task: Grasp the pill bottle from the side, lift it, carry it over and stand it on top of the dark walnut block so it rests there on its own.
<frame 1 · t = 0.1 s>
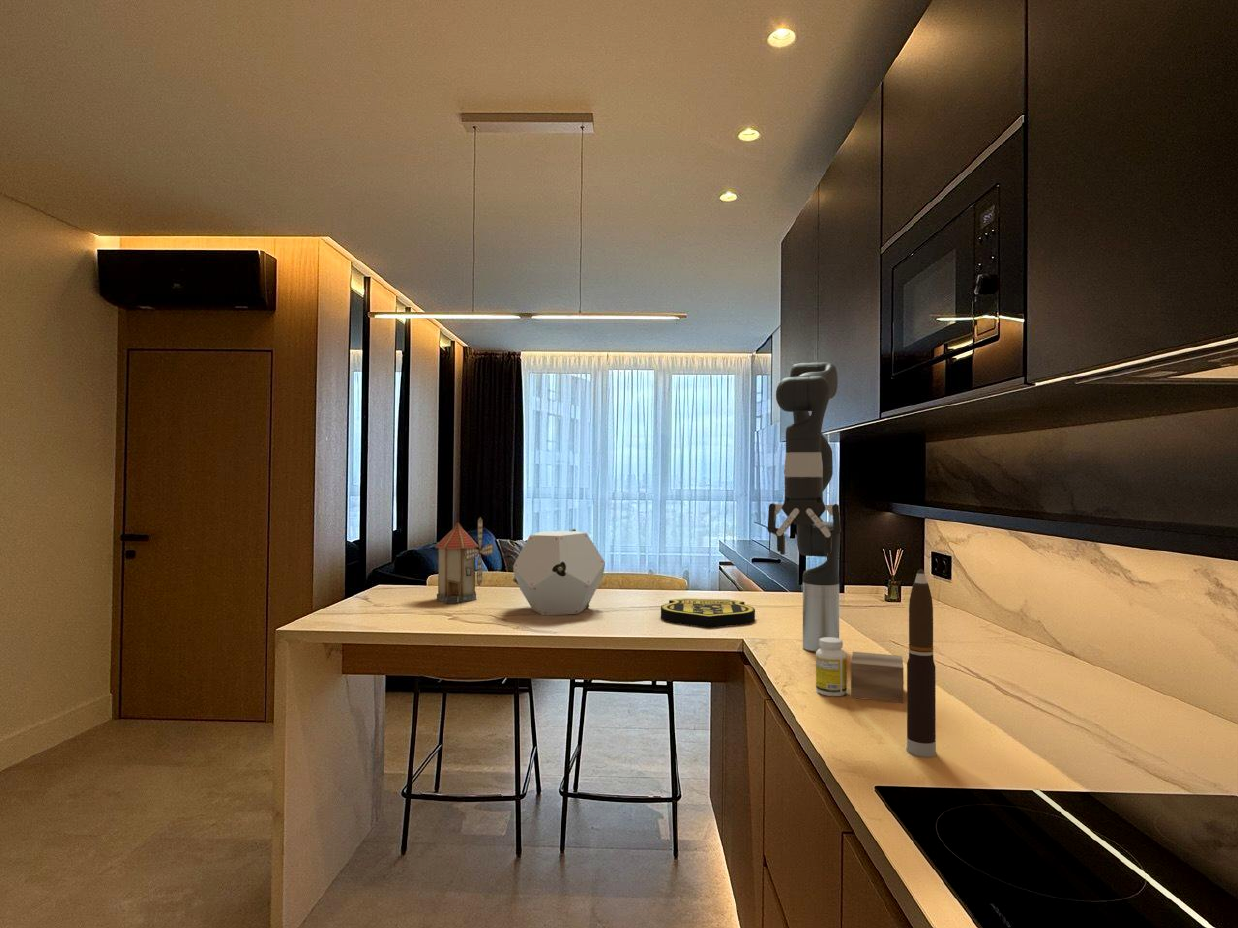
hand: (803, 554, 144), 29 cm above the worktop, tool pointing down, fingers open, 8 cm apart
ammunition: (921, 752, 117), on the worktop
miniature windmill: (461, 600, 256), on the worktop
pill bottle: (831, 693, 149), on the worktop
geometric sculpture: (559, 611, 237), on the worktop
walnut block: (877, 692, 149), on the worktop
emblem: (707, 619, 226), on the worktop
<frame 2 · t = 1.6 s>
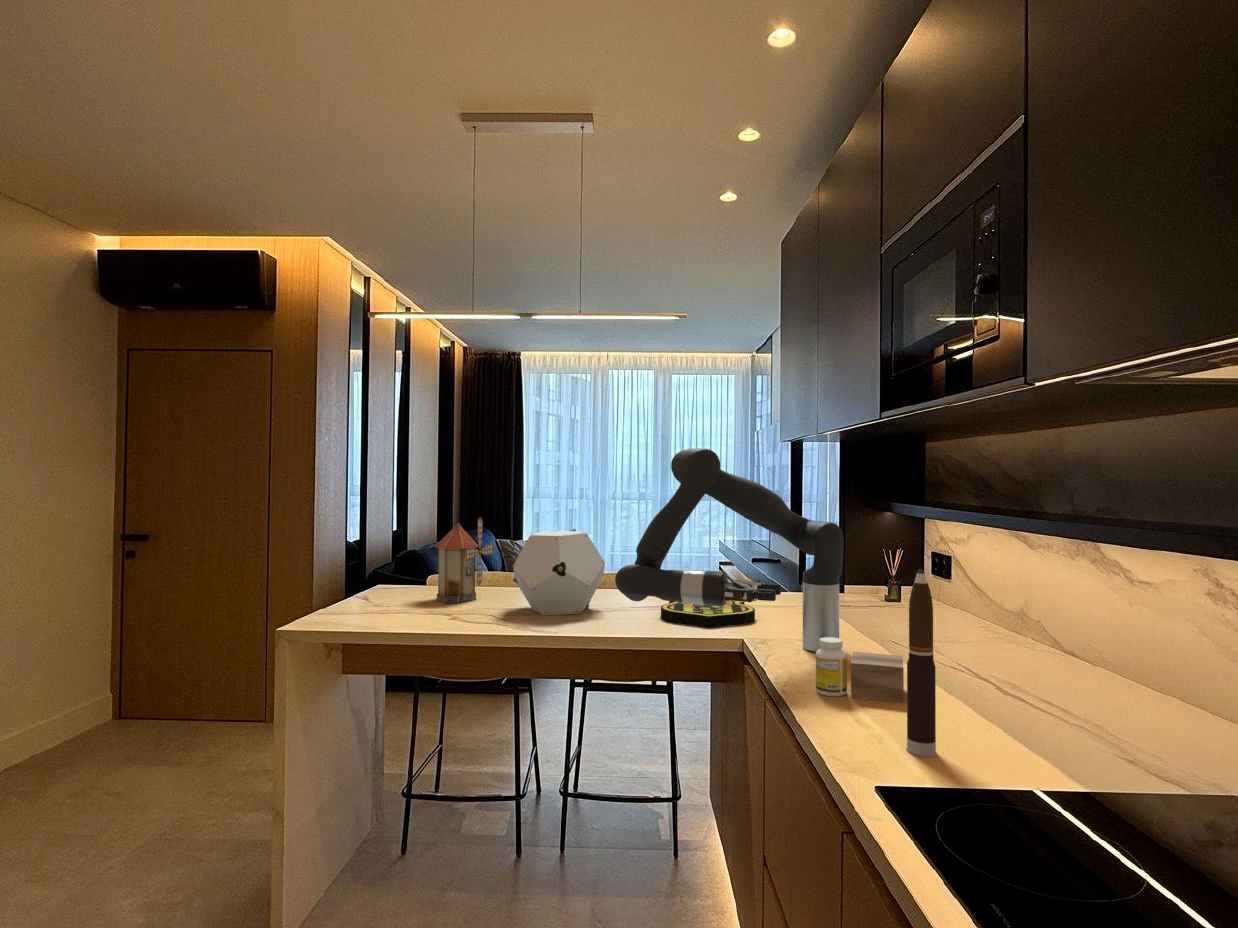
hand: (778, 592, 153), 20 cm above the worktop, tool horizontal, fingers open, 8 cm apart
nothing on the worktop moved.
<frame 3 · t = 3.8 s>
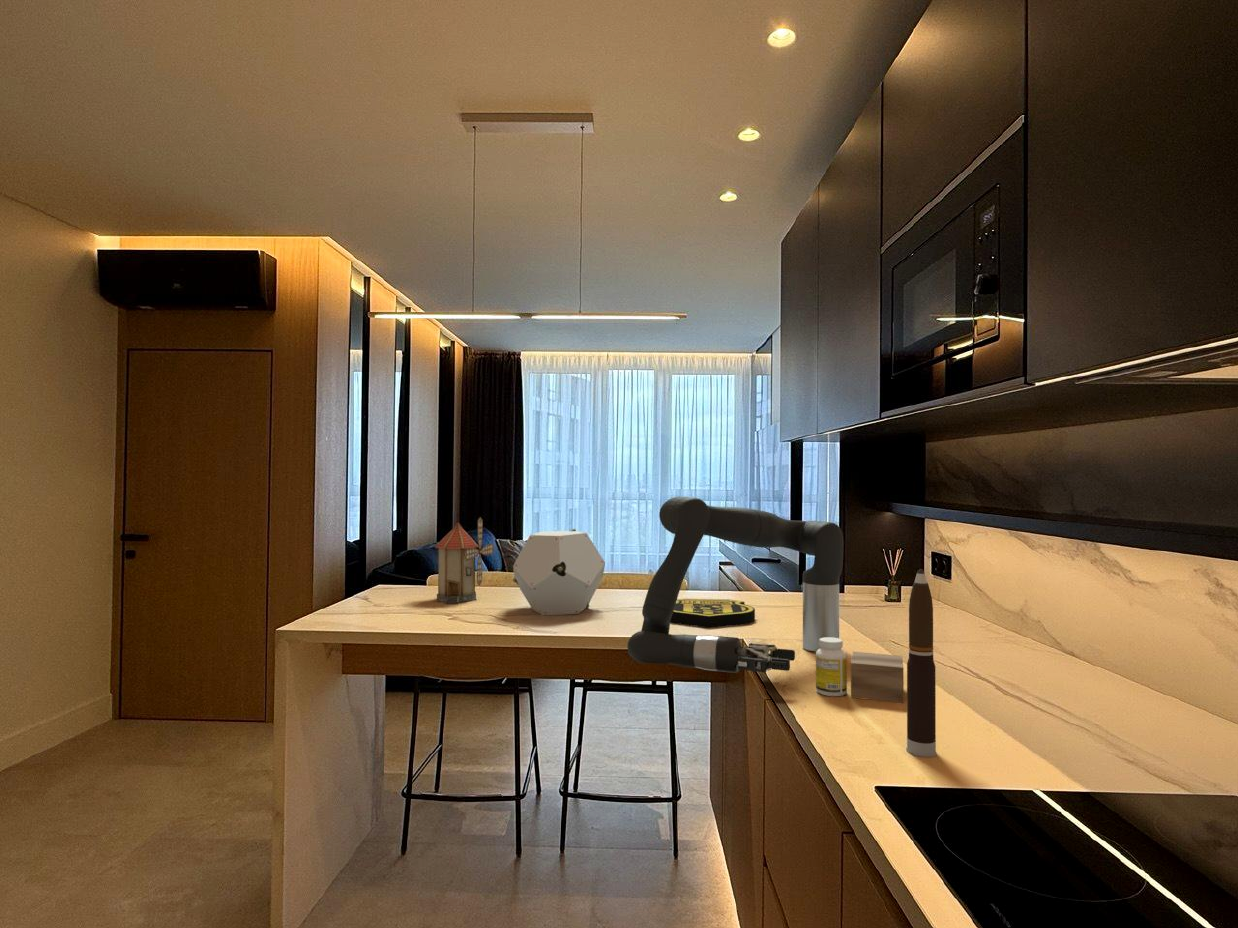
hand: (792, 660, 152), 6 cm above the worktop, tool horizontal, fingers open, 8 cm apart
nothing on the worktop moved.
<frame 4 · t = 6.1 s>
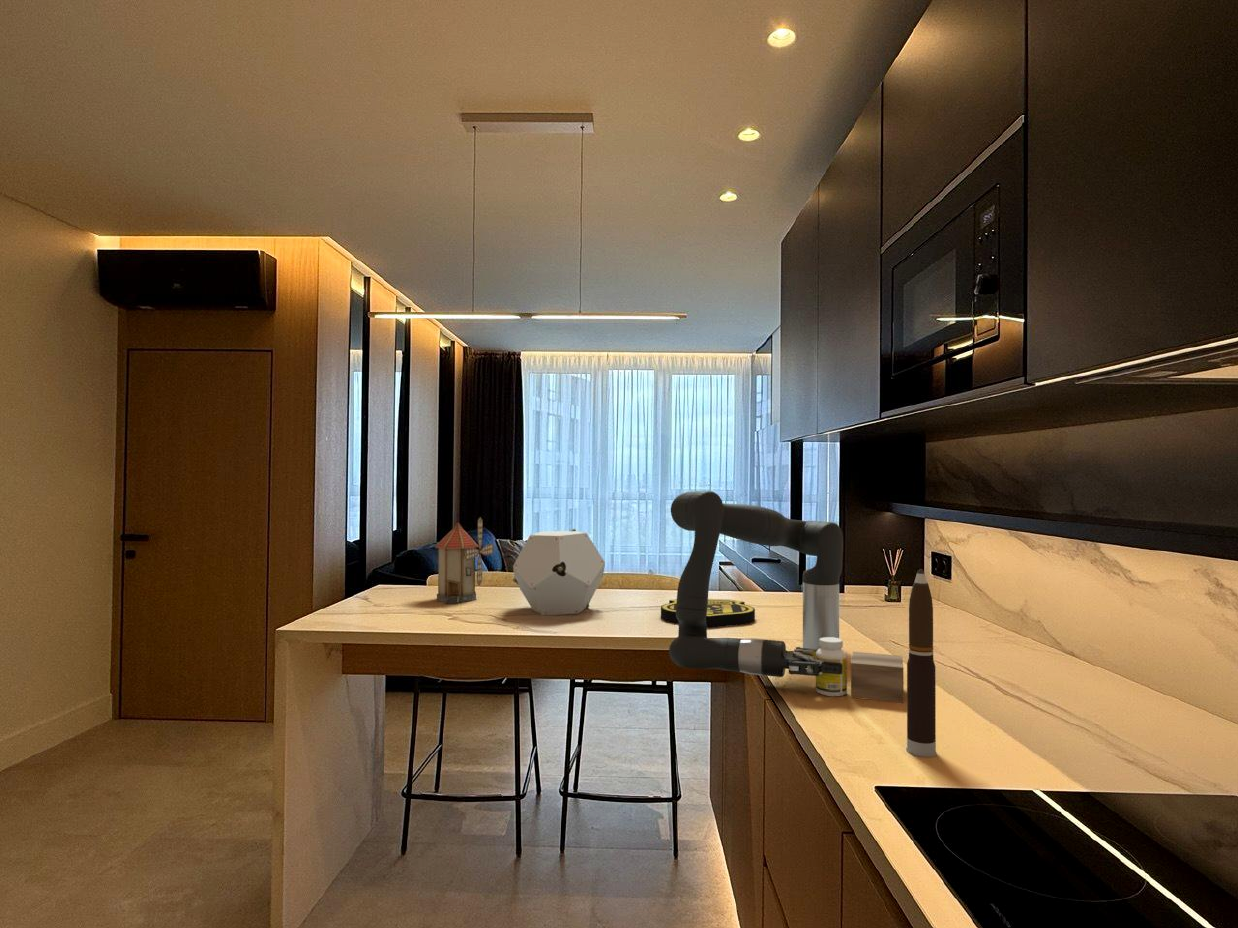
hand: (843, 664, 148), 6 cm above the worktop, tool horizontal, fingers closed on pill bottle, 6 cm apart
pill bottle: (831, 693, 149), on the worktop, touching gripper
everything else where it was.
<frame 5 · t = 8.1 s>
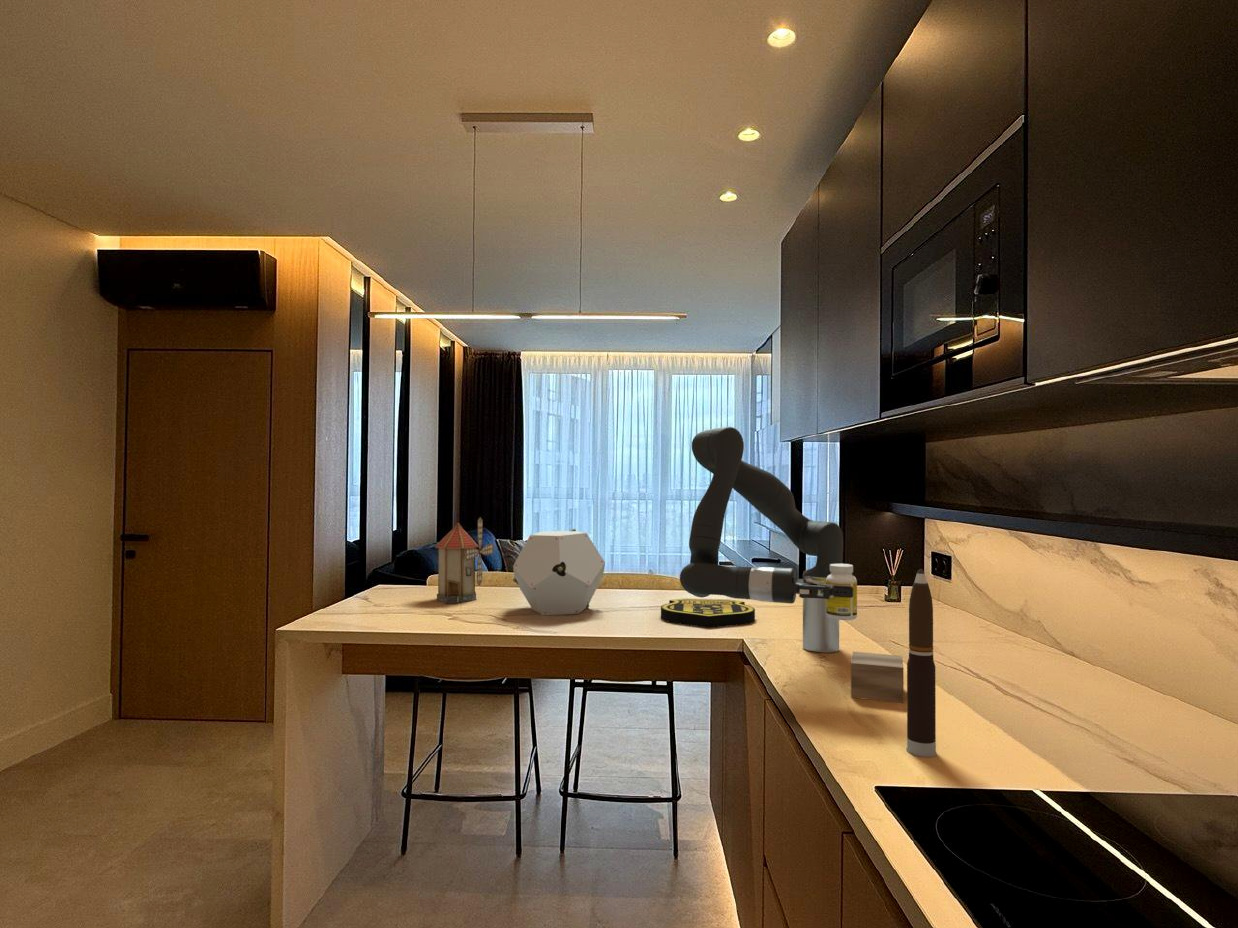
hand: (853, 589, 148), 22 cm above the worktop, tool horizontal, fingers closed on pill bottle, 6 cm apart
pill bottle: (841, 618, 149), point 15 cm above the worktop, touching gripper
everything else where it was.
when the fingers open (14 cm above the worktop, at t = 10.5 s): pill bottle drops 1 cm, resting on walnut block.
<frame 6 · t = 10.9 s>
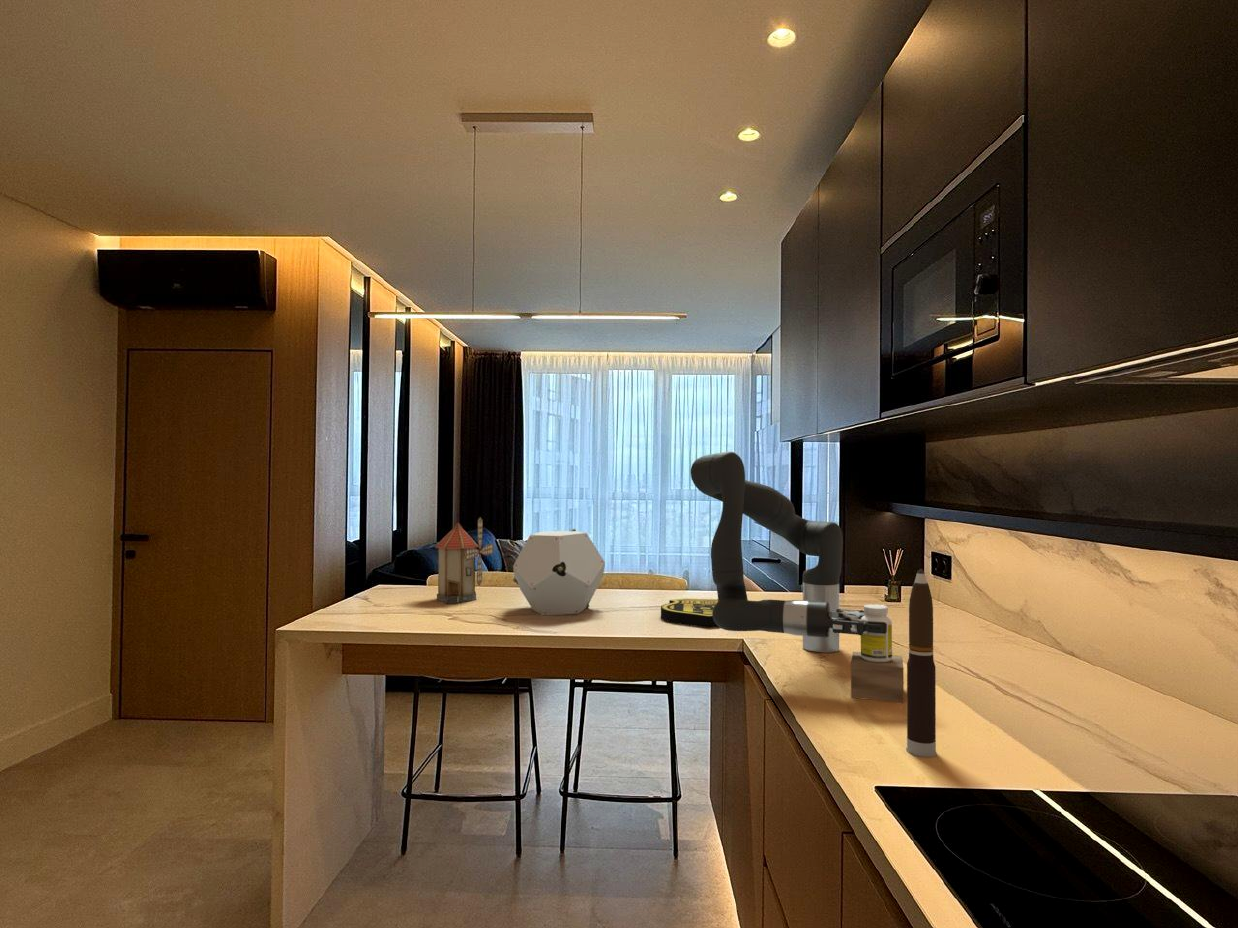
hand: (886, 623, 148), 15 cm above the worktop, tool horizontal, fingers open, 8 cm apart
pill bottle: (876, 660, 149), point 7 cm above the worktop, touching walnut block
everything else where it was.
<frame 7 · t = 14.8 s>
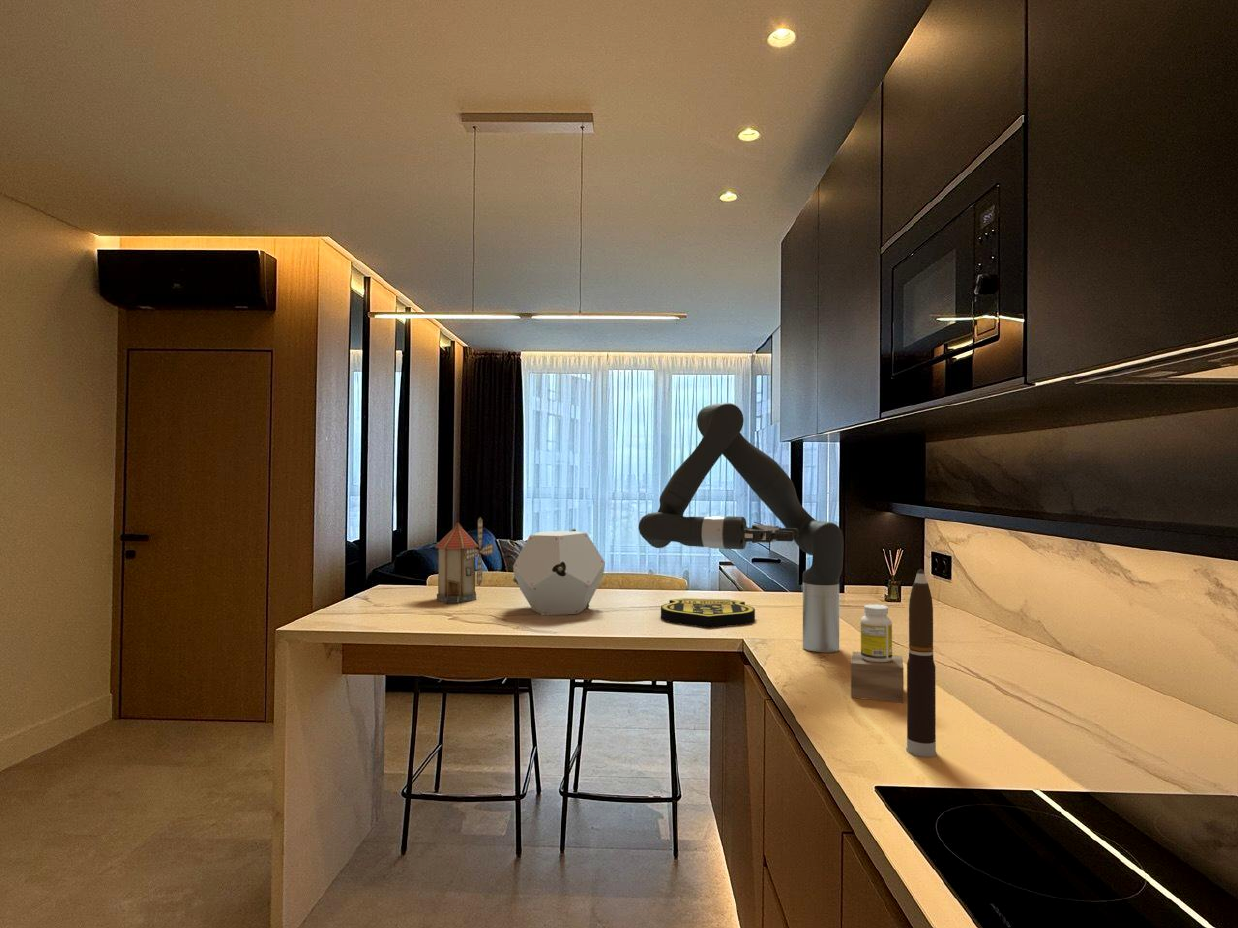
hand: (795, 534, 160), 32 cm above the worktop, tool horizontal, fingers open, 8 cm apart
nothing on the worktop moved.
at the end: pill bottle 0.2 cm from the walnut block (horizontally); pill bottle point 6.8 cm above the worktop; pill bottle tilted 0° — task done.
